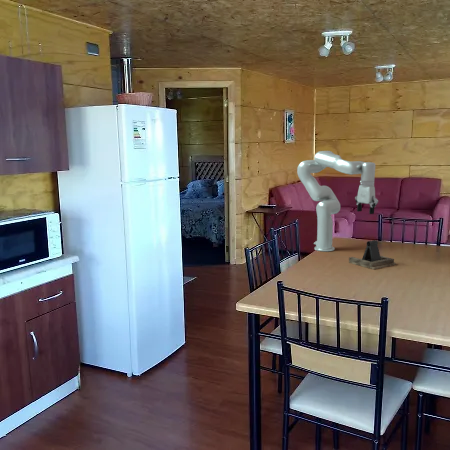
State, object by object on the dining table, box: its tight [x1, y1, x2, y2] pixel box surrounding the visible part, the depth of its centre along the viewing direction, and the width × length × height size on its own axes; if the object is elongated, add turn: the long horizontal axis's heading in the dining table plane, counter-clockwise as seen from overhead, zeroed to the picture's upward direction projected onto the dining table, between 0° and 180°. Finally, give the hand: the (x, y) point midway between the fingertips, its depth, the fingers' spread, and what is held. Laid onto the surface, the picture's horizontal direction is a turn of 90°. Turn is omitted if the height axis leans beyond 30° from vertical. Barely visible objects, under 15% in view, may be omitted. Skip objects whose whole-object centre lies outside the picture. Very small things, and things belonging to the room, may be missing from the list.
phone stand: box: [361, 239, 381, 262], centre depth 266 cm, size 9×6×12 cm, turn 32°
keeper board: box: [348, 255, 397, 270], centre depth 266 cm, size 18×18×7 cm
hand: (365, 212), depth 279 cm, fingers open, 9 cm apart
